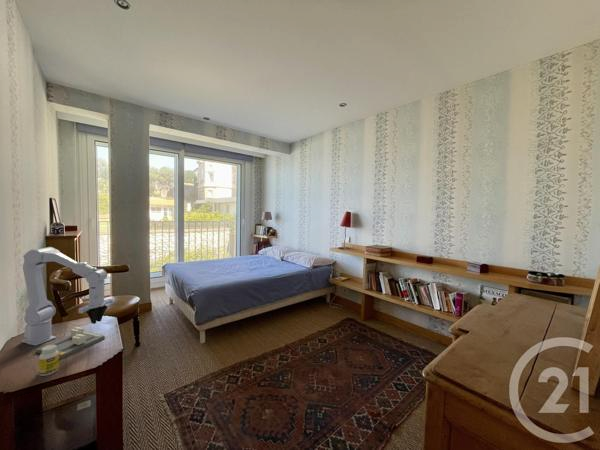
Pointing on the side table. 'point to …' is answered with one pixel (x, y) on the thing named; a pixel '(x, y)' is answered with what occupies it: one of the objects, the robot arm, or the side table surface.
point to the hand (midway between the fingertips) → (96, 322)
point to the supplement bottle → (48, 360)
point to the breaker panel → (68, 348)
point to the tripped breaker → (78, 339)
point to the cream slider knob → (77, 331)
